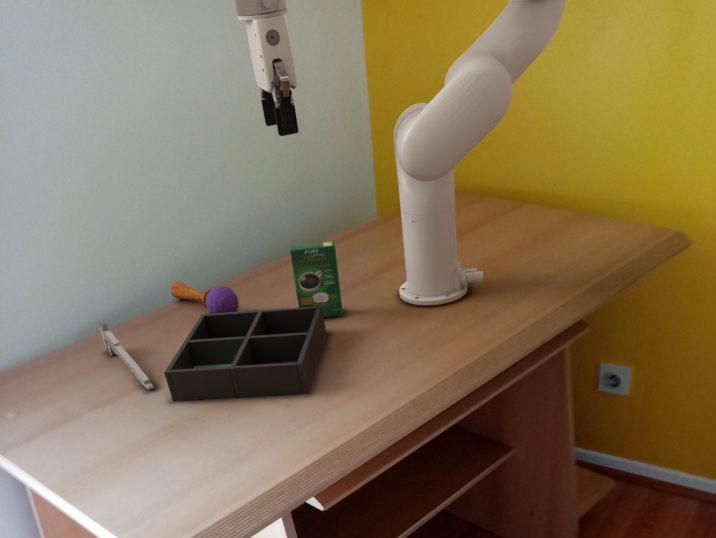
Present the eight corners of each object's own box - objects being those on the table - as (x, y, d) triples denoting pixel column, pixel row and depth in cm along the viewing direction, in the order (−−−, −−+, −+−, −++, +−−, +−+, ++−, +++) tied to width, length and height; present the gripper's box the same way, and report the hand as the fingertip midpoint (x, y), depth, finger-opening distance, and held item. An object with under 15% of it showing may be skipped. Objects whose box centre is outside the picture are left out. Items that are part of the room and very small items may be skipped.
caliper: (107, 352, 136) (95, 319, 132) (112, 350, 137) (101, 317, 133) (148, 391, 122) (137, 356, 118) (155, 389, 123) (143, 353, 119)
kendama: (189, 272, 153) (242, 286, 139) (193, 302, 156) (246, 318, 142) (162, 276, 150) (214, 291, 136) (166, 307, 152) (218, 324, 139)
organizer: (326, 332, 133) (321, 305, 130) (307, 393, 116) (301, 364, 113) (208, 340, 135) (201, 314, 132) (172, 401, 119) (163, 372, 116)
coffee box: (344, 309, 140) (334, 238, 132) (344, 316, 137) (334, 243, 130) (301, 315, 140) (288, 244, 132) (300, 321, 138) (287, 249, 130)
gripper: (299, 3, 108) (317, 134, 118) (272, -1, 121) (291, 117, 132) (247, 11, 106) (270, 143, 117) (226, 6, 120) (249, 125, 130)
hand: (281, 129), depth 124 cm, fingers open, 9 cm apart
